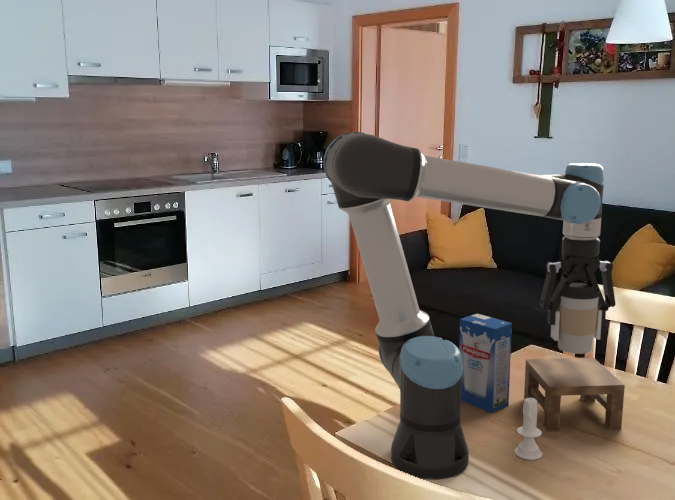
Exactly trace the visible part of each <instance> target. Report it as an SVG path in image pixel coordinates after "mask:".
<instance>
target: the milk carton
mask: <svg viewBox="0 0 675 500" xmlns="http://www.w3.org/2000/svg"><path fill="white" fill-rule="evenodd" d="M512 326H513V323H512V322H509V321H505V320H502V319H498V318H495V317H491V316H487V315H484V314H481V313H475V314H471V315H469V316H465V317H462V318H460V319H459V348H458V349H459V351H460V353H461V357H462V366H463V373H462V387H461V402H463V403H466V404H468V405H471V406H472V407H475V408H477V409H481V410H482V411H486V412H488V413H490V414H493V413H496V412H498V411H500V410H501V409H502V410H503V409H504V408H506V407H508V406H509V403H510V402H509V401H510V400H509V399H510V383H511V382H510V379H511V377H510V374H511V356H512V355H511V353H512V352H511V351H512V332H513V331H512V329H513V327H512Z"/></svg>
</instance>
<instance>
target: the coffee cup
mask: <svg viewBox="0 0 675 500" xmlns="http://www.w3.org/2000/svg"><path fill="white" fill-rule="evenodd" d="M557 290H558V289H557ZM558 291H559V290H558ZM600 291H601V289H600V290H597V289H596V287H595V285H593V286H591V285H589V284H588V282H587V281H586V280H582V279H580V280H573V282H572V283H571V284H570V285H569V286H566V287H565V289H564V291H561V294H560V296H561V302H560V304H559V306H558V308H557V310H558V311H559V312H560V321H559V340H558V341H557V348H558V349H559V350H560V351H562V352H564V353H565V352H566V353H569V354H576V355H578V354H579V355H580V354H581V355H582V354H583V355H584V354H587V353H590V352H592V346H593V340H594V337H593V334H594V332H595V326H596V319H597V312H598V299H599V296H600V294H599V293H600Z"/></svg>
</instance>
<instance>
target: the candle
mask: <svg viewBox="0 0 675 500" xmlns="http://www.w3.org/2000/svg"><path fill="white" fill-rule="evenodd" d="M522 414H523V417H522V418H523V419H522V420H523V421H522V426H519V427H518V428H517V429H516V431H517V434H519V435H520V436H522V437H524V438H523V439H522V440H521V442H520V443H518V446H517V447H515V448H514V454H515V455H516V456H518V457H519V458H521V459H523V460H524V459H525V460H529V461H534V460H538V459H541V458H542V457H543V452H542V450H540V449H539V447H540V446H539V445H538V444H537V443H536V440H535V438H538V437H540V436H541V435H543V434H542V433H543V432H542V430H541V429H539V428H538V427H537V424H538V421H537V419H538V404H537V400H536V399H534V398H526V399H525V400H524V399H523V407H522Z"/></svg>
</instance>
